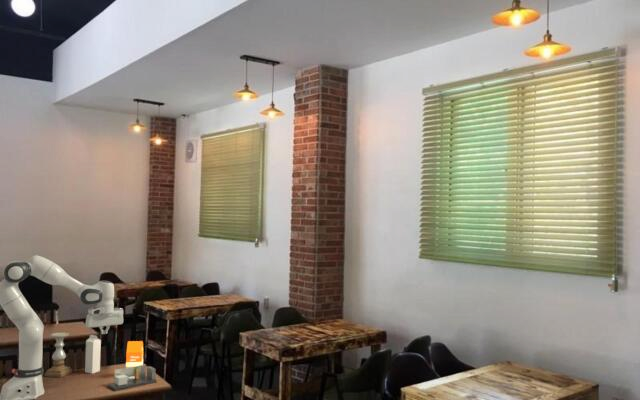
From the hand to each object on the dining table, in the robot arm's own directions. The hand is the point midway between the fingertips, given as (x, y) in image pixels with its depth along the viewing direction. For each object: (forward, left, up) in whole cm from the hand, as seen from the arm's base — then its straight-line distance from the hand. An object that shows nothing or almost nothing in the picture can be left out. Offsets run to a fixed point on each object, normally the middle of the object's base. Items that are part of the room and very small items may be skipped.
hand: (104, 333), depth 305 cm
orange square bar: (+17, -7, -27) cm, 32 cm away
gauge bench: (+13, -10, -29) cm, 33 cm away
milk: (+4, +27, -29) cm, 40 cm away
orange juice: (+21, +7, -29) cm, 36 cm away
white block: (+9, -10, -27) cm, 30 cm away
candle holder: (-14, +34, -29) cm, 47 cm away
